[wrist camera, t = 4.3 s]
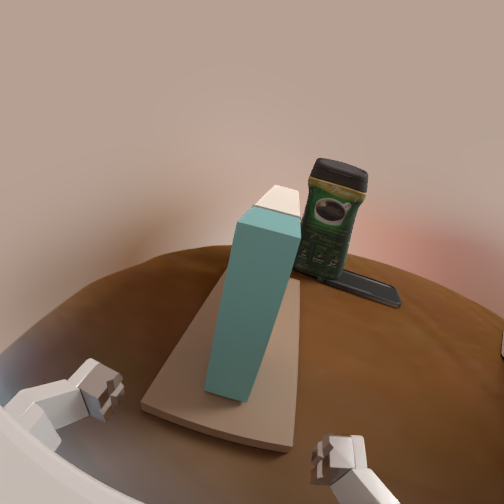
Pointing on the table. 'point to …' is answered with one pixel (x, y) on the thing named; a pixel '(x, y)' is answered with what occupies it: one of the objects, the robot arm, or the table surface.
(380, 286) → the phone
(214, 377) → the teal rectangular block
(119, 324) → the table surface
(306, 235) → the coffee jar
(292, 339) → the stand
